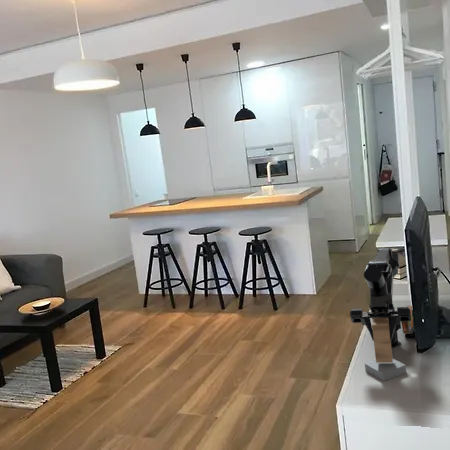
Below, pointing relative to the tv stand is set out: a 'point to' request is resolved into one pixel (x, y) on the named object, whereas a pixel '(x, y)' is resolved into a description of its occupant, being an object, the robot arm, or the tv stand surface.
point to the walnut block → (382, 340)
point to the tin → (407, 323)
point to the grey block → (385, 369)
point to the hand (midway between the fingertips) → (382, 340)
